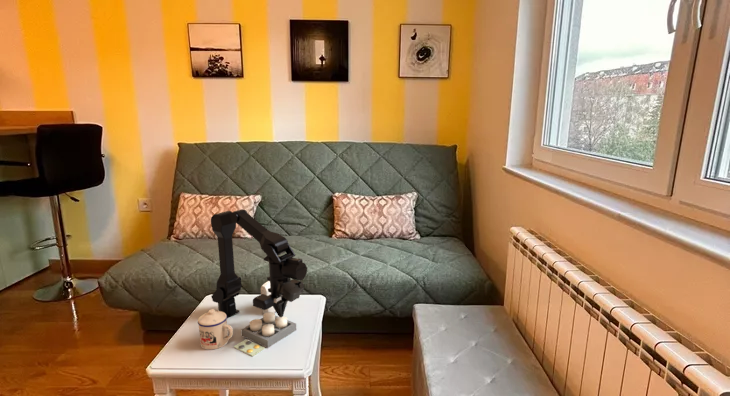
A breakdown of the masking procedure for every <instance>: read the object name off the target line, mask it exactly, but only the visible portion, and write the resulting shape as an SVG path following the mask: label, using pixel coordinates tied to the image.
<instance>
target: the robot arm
mask: <svg viewBox="0 0 730 396" xmlns="http://www.w3.org/2000/svg"><path fill="white" fill-rule="evenodd" d="M210 225H211V231H212V232H213V234H214V235H215V236H216V237H217V247H218V260H219V272H220V273H219V277H218V278H217V281H216V288H215V289H216V290H215V291H214V292H213V293H212V295H211V296H210V297H211V299H212V302H214V303H217V308H218V311H222V312H224V313H225V314H226V315H227V319H229V318H230V317H232V316H234V315H236V314H238V313H240V310H239V309H237V306H236V305H237V304H236V299H235V297H238V296H239V295H240V292H241V290H242V288H243V284H242V278H241V277H240V276H238V274H237V273H236V272H235V260H234V259H235V257H234V244H233V242H234V241H233V235H234V232H235V230H236V228H237V225H238V226H239V227H240V228H242V229H243V230H244V231H245V232H246V233H248V234H249V235H250V236H251V237H252V238H253V239H255V240H256V241H257V242H258V243H259V246H260V248H261V250H262V251H263V252H264V253H265V255H266V256H265V257H263V261H264V262H268V274H269V276H268V277H266V278H267V282H268V281H270V288H269V289H268V292H270V293H271V294H270V295H268V296H267V295H264V294H261V293H260V294H259V295H257V296H255V297H254V298H253V299H252V306H253V307H256V308H257V309H260V310H262V309H263V310H267V309H269V308H270V307H272V306H273V307H274V309H275V311H276V312H275V313H276V314H277V316H278V317H284V313H285V310H286V307H287V306H286V304H287V305H288V302H289V303H292V302H294V301H295V300H297V299H299V298H300V297H301V296H300V295H301V294H302V293H303V292H304V291H305V284H304V282H303V280H304V279H305V278H306V275H307V272H308V267H307V264H306V263H305V262H304V261H303V259H302V258H295V257H296V254H295V252H294V250H293V248H292V246H291V245H290V244H289V242H288V239H287V238H286V237H285V236H283V235H281V234H279V233H277V232H274V231H270V230H268V228H266V227H265V226H264V225H263V224H261V223H260V222H258V221H257V220H256V219H255V218H254V217H253V216H251V215H250V214H249V212H248V211H247V210H246V209H243V208H242V209H238V210H235V211H231V210H225V211H222V212H218V213H215V214H213V215H212V216H211V217H210Z"/></svg>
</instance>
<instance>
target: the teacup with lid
mask: <svg viewBox="0 0 730 396" xmlns="http://www.w3.org/2000/svg"><path fill="white" fill-rule="evenodd" d="M227 320H228V318H227V315H226V314H225V313H224V312H222V311H219V310H215V309H213V308H211V309H209V310H208V312H205V313H203V314H201V316H199V317H198V319H197V324H198V331H199V339H200V340H199V341H200V347H201V348H203V349H204V350H216V349H220V348H222V347H224V346H226V345H227V343H228V342H229V339H231V338H232V336H233V334H234V330H233V327H232V326H231V325H230V324H228V321H227Z"/></svg>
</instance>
